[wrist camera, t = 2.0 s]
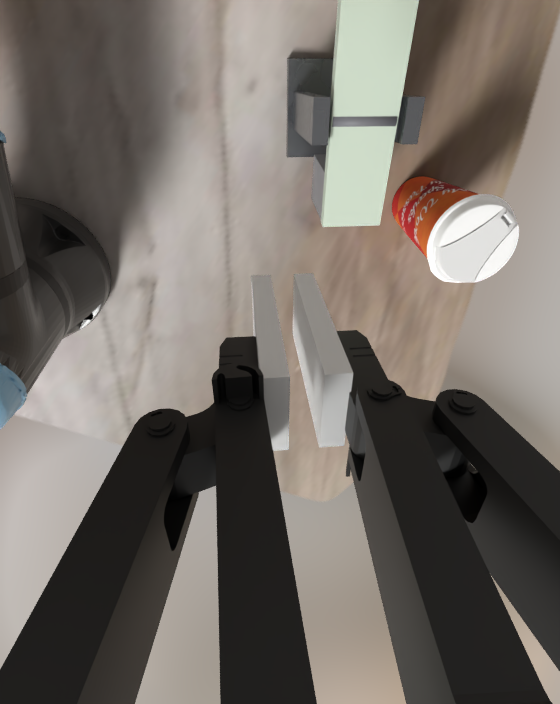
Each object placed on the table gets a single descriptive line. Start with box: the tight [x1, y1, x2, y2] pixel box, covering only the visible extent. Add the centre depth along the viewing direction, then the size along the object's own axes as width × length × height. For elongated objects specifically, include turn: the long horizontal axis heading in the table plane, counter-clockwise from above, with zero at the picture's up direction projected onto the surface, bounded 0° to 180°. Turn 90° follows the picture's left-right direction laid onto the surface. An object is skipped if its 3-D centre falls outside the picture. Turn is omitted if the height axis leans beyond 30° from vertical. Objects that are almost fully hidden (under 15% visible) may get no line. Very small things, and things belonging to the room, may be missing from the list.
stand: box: [287, 58, 425, 157], centre depth 34 cm, size 9×8×12 cm
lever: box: [311, 0, 419, 227], centre depth 31 cm, size 5×21×8 cm, turn 0°
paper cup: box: [392, 176, 519, 283], centre depth 40 cm, size 8×8×14 cm
